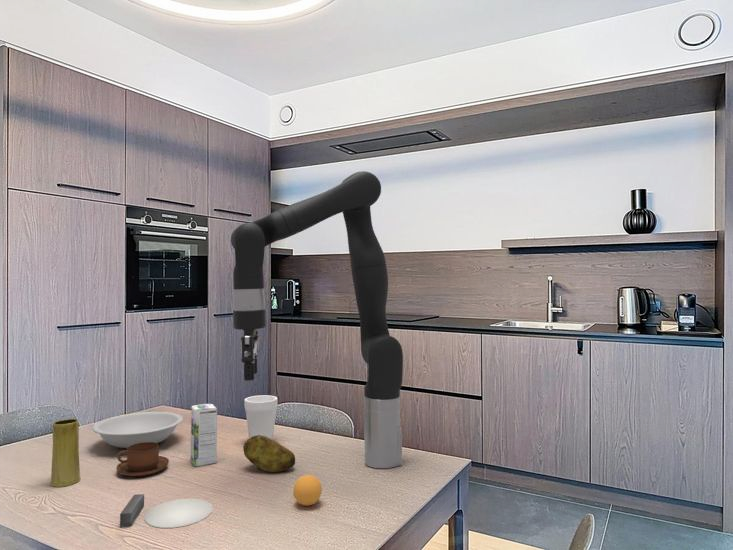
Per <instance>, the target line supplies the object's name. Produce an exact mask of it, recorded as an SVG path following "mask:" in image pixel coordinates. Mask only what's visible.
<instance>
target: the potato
mask: <svg viewBox="0 0 733 550" xmlns="http://www.w3.org/2000/svg"><path fill="white" fill-rule="evenodd" d="M242 449H243V454H244V457H245V458H246V459H247V460H248V461H249V462H250V463H251V464H252V465H255V466H257V467H258V468H259V469H260V470H262V471H264V472H267V473H268V472H269V473H277V472H278V473H279V472H283V471H284V472H285V471H288V470H290V469H292V468H293V467H294V466H295V464H296V456H295V454H294V452H293V451H292V450H290V449H289V448H287V447H285V446H283V445H282V444H280V443H279V442H277V441H276V440H274V439H273V440H272V439H270V438H268V437H266V436H260V435H257V436H253V437H251V438H250V439H249V438H248V439H247V440H245V442H244V444H243V445H242Z"/></svg>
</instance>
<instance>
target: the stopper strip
mask: <svg viewBox="0 0 733 550" xmlns="http://www.w3.org/2000/svg"><path fill="white" fill-rule="evenodd" d="M144 507H145V493H142V494H141V493H139V494H138V493H137V494H133V496H132V497H131V499H130V500H128V502H127V504H126V506H125V507H123V510H121V512H120V513H119V527H120V528H122V527H124V528H125V527H132V526H133V524H134V523H135V521H136V519H137V518H138V517H139V516H140V513H141V512H142V510H143V508H144Z"/></svg>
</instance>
